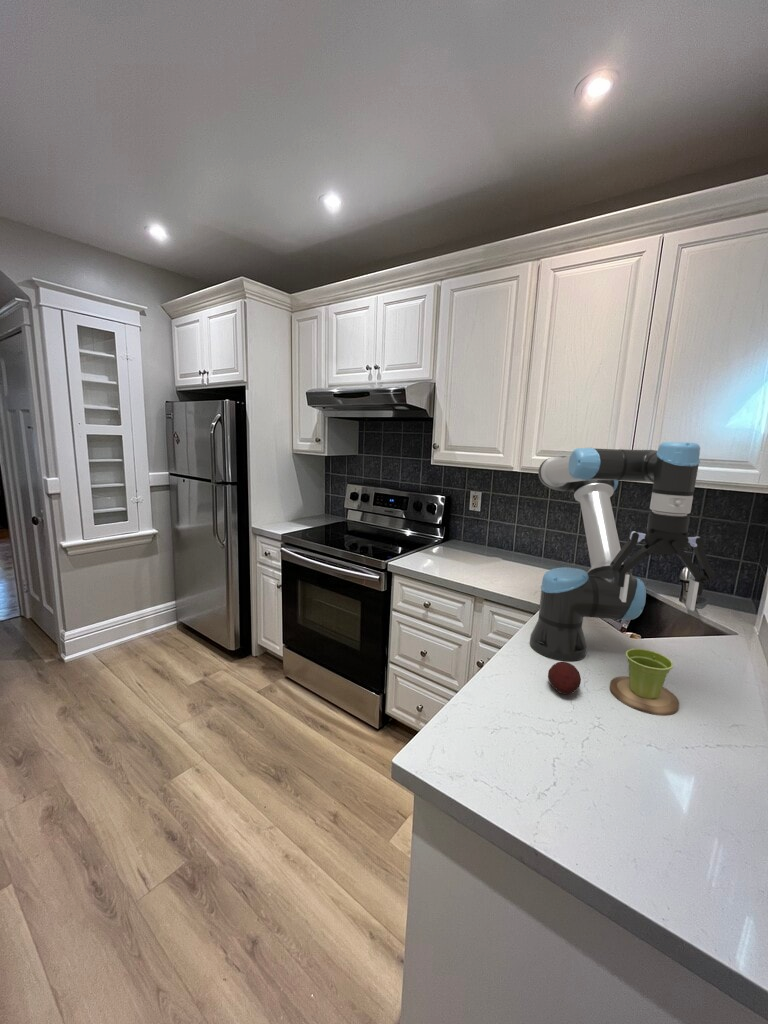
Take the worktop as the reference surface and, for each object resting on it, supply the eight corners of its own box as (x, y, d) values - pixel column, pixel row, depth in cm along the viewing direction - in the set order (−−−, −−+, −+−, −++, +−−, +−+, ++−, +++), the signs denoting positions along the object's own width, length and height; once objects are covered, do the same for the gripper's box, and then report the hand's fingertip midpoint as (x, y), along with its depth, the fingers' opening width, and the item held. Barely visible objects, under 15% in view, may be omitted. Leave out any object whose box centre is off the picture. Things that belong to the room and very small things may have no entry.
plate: (617, 707, 95) (618, 703, 95) (603, 675, 108) (604, 671, 108) (689, 720, 91) (689, 716, 91) (665, 686, 105) (666, 681, 104)
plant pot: (668, 709, 93) (673, 673, 92) (620, 695, 98) (624, 660, 97) (667, 689, 101) (672, 656, 100) (622, 677, 106) (626, 644, 105)
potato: (576, 681, 105) (579, 658, 104) (582, 704, 96) (585, 679, 95) (545, 675, 108) (548, 653, 107) (548, 697, 98) (550, 673, 97)
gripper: (610, 511, 92) (599, 602, 96) (745, 520, 86) (727, 618, 89) (603, 506, 100) (592, 591, 103) (727, 514, 93) (711, 605, 97)
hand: (655, 604), depth 96 cm, fingers open, 13 cm apart
